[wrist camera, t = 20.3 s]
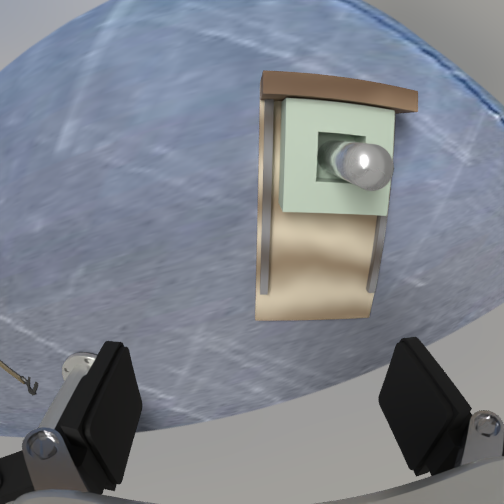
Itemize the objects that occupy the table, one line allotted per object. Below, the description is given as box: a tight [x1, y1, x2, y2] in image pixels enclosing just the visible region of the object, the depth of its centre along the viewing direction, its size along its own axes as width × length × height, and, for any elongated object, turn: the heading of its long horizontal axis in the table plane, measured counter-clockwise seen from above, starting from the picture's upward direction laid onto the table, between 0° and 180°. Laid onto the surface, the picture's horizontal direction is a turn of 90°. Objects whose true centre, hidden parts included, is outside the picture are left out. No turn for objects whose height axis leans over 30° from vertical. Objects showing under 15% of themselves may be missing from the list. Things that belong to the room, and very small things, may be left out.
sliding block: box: [278, 98, 395, 216], centre depth 28 cm, size 10×10×4 cm
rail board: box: [255, 71, 418, 320], centre depth 30 cm, size 26×14×6 cm, turn 179°
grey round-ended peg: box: [317, 140, 394, 191], centre depth 24 cm, size 3×3×10 cm
